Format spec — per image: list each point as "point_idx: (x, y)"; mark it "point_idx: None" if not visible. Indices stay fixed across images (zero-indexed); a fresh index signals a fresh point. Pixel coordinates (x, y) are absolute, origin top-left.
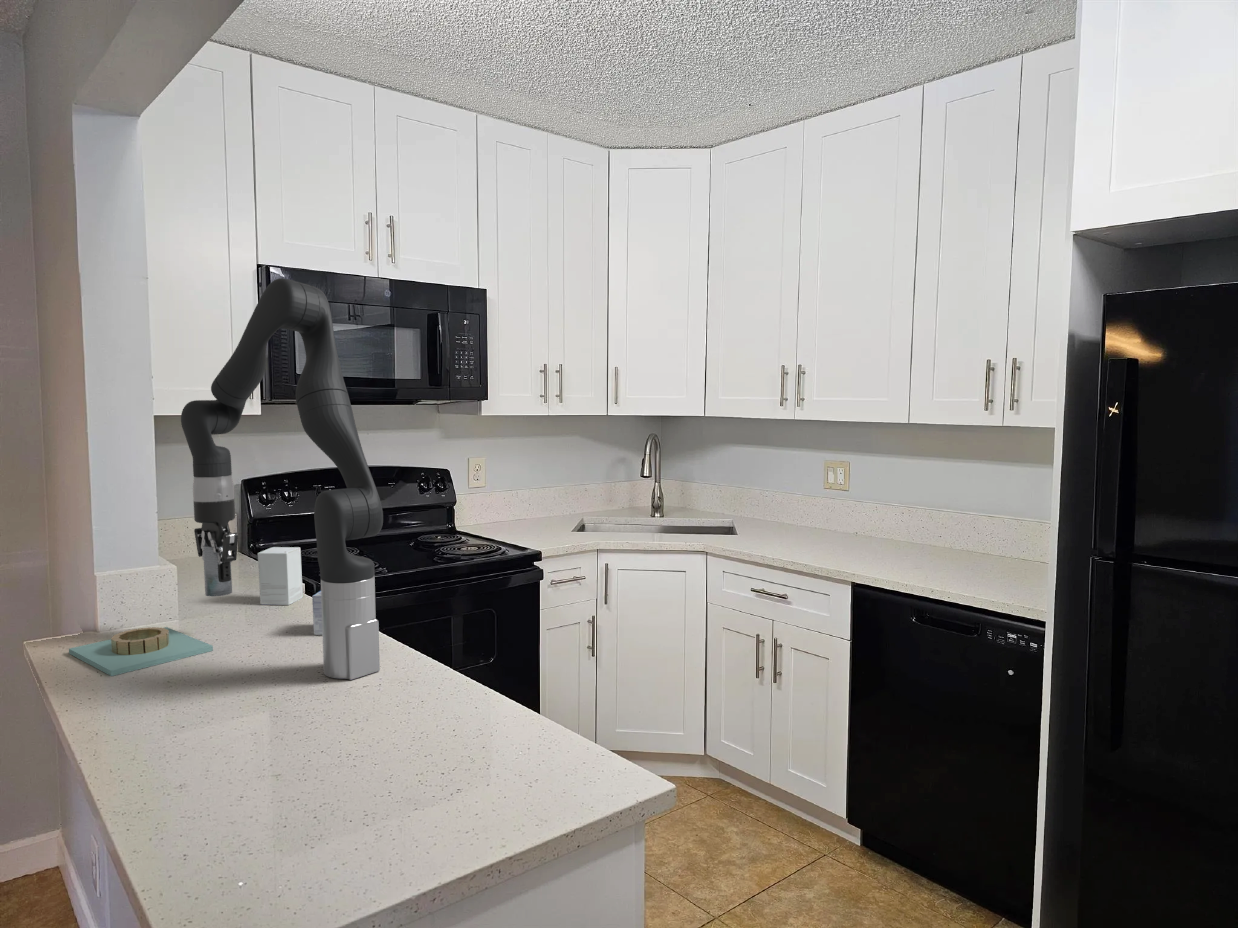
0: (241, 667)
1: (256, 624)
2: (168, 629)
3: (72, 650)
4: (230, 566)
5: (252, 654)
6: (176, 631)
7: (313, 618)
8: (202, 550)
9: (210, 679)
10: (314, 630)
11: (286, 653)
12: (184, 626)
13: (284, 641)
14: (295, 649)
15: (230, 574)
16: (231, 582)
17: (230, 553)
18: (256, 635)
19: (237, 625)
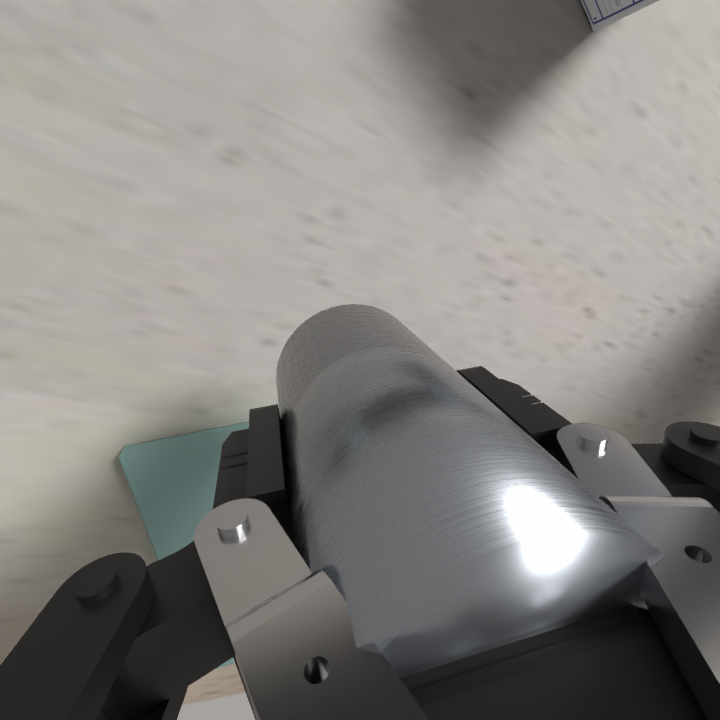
0: (643, 361)
1: (255, 134)
2: (165, 456)
3: (229, 663)
4: (468, 384)
5: (584, 304)
6: (217, 439)
7: (653, 2)
8: (128, 710)
9: (647, 434)
10: (609, 23)
11: (658, 224)
12: (77, 382)
13: (559, 167)
14: (653, 183)
15: (500, 381)
16: (411, 333)
17: (658, 485)
18: (417, 211)
19: (213, 208)
